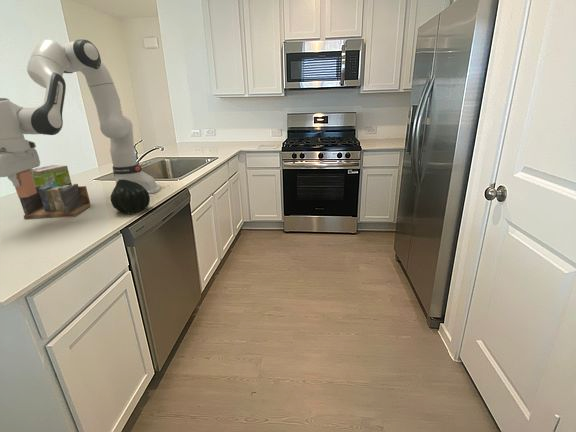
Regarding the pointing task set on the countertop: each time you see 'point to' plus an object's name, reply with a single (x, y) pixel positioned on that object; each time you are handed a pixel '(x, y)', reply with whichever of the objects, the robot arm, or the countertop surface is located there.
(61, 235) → the countertop surface
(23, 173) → the terracotta rectangular block
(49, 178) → the tea box
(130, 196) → the squash
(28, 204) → the rack
